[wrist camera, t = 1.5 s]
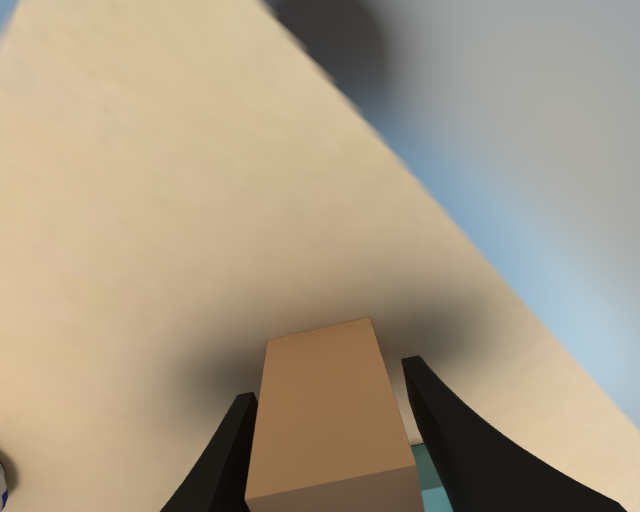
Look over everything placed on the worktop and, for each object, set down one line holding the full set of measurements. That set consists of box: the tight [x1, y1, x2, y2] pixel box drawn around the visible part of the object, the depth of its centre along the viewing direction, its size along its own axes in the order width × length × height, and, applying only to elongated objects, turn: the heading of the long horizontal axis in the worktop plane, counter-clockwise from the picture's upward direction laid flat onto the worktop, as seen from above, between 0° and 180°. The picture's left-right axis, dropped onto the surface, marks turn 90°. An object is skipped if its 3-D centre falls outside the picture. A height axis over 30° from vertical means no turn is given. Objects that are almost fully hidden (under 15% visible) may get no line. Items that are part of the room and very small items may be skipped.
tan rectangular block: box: [245, 317, 425, 512], centre depth 12 cm, size 4×4×6 cm
